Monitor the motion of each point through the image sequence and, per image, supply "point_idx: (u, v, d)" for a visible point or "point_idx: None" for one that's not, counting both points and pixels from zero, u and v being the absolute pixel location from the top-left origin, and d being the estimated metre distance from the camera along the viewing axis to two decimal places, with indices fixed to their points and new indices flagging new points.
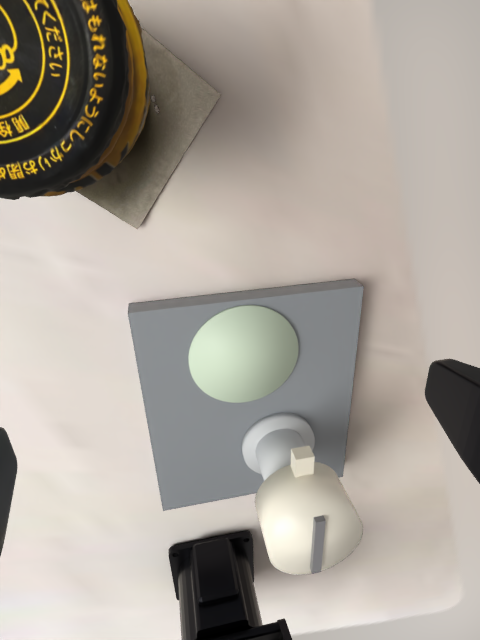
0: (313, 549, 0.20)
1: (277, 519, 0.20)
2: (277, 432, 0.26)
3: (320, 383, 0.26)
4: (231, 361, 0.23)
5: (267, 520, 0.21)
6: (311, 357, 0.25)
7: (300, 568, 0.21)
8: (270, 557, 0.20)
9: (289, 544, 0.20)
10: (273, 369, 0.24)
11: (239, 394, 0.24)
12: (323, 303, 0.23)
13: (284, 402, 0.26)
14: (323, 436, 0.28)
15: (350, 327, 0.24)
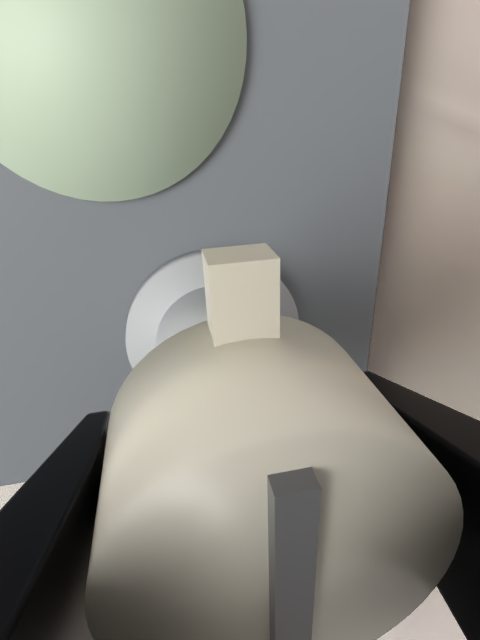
0: (274, 610, 0.05)
1: (119, 488, 0.05)
2: (204, 290, 0.10)
3: (310, 169, 0.10)
4: (50, 47, 0.08)
5: (100, 496, 0.05)
6: (285, 77, 0.09)
7: None
8: None
9: (174, 593, 0.05)
10: (181, 97, 0.09)
11: (94, 173, 0.09)
12: None
13: (221, 219, 0.10)
14: (320, 323, 0.12)
15: None
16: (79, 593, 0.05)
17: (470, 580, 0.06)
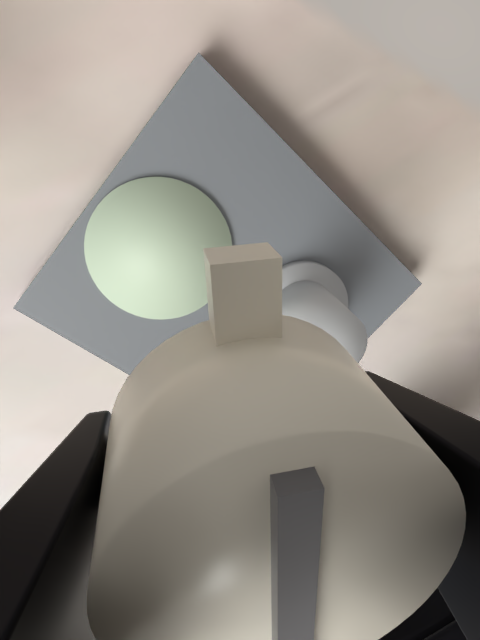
0: (277, 610, 0.05)
1: (121, 488, 0.05)
2: None
3: (277, 208, 0.18)
4: (152, 269, 0.18)
5: (102, 495, 0.05)
6: (233, 190, 0.18)
7: None
8: None
9: (176, 592, 0.05)
10: (204, 239, 0.18)
11: (200, 293, 0.19)
12: (175, 120, 0.16)
13: None
14: (347, 260, 0.20)
15: (239, 115, 0.16)
16: (79, 593, 0.05)
17: (470, 580, 0.06)
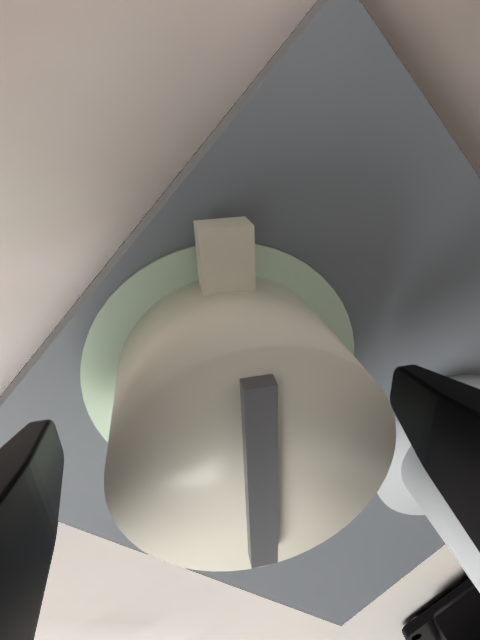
0: (248, 492, 0.07)
1: (130, 394, 0.06)
2: None
3: (438, 294, 0.10)
4: None
5: (114, 409, 0.07)
6: (369, 264, 0.09)
7: (220, 554, 0.08)
8: (117, 517, 0.07)
9: (171, 476, 0.07)
10: None
11: None
12: (279, 129, 0.08)
13: (391, 381, 0.11)
14: None
15: (404, 123, 0.08)
16: None
17: None
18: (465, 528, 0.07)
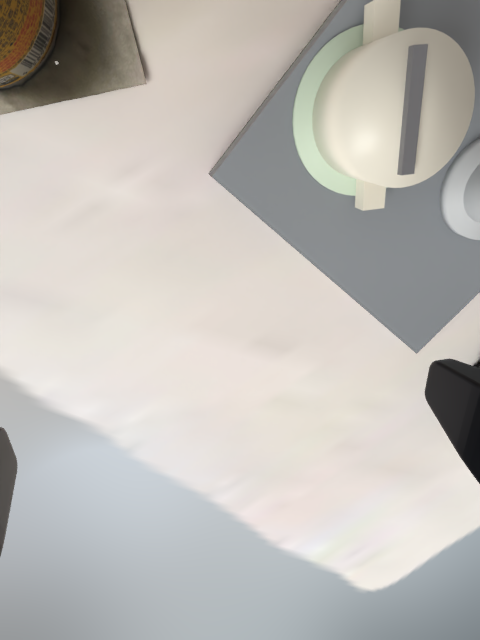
0: (406, 117, 0.14)
1: (353, 65, 0.14)
2: (477, 170, 0.18)
3: None
4: None
5: (336, 87, 0.14)
6: None
7: (384, 172, 0.15)
8: (344, 131, 0.14)
9: (371, 107, 0.14)
10: None
11: None
12: None
13: None
14: None
15: None
16: None
17: None
18: None
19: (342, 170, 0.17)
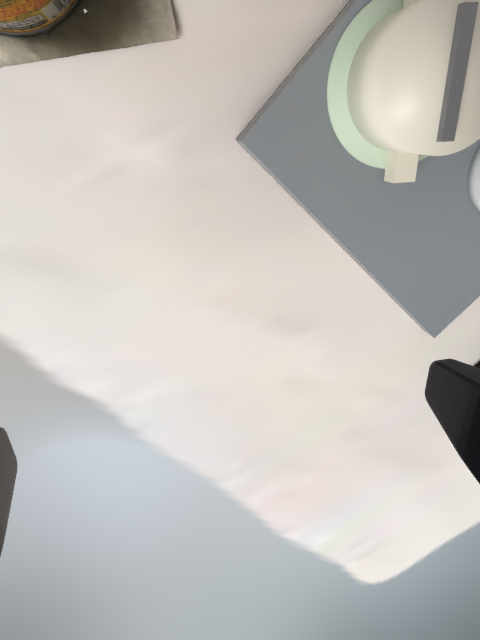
0: (450, 80, 0.14)
1: (399, 22, 0.13)
2: None
3: None
4: None
5: (379, 47, 0.14)
6: None
7: (423, 138, 0.15)
8: (386, 92, 0.14)
9: (416, 67, 0.14)
10: None
11: None
12: None
13: None
14: None
15: None
16: None
17: None
18: None
19: (376, 138, 0.16)
